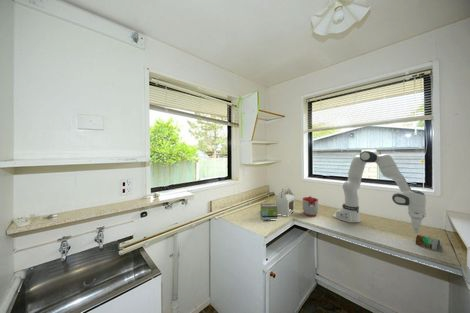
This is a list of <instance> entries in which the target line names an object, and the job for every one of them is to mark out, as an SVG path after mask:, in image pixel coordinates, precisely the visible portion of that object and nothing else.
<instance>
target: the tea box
mask: <svg viewBox="0 0 470 313" xmlns="http://www.w3.org/2000/svg"><path fill="white" fill-rule="evenodd" d="M260 218H262V219H261V221H262V220H271V219H277V220H278V215H277V206H276V202H275V203H260Z"/></svg>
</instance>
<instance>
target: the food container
mask: <svg viewBox="0 0 470 313" xmlns="http://www.w3.org/2000/svg"><path fill="white" fill-rule="evenodd" d="M440 243H441V240H440V239H438V238H436V237H430V236H425V235H421V234H416V238H415V244H416V245H418V246H420V245H421V246H424V247H427V248H430V249H429V250H431V249H432V250H431V251H434V250H436V251H435V252H438V251H437V246H438V245H440ZM427 248H426V249H427Z"/></svg>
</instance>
